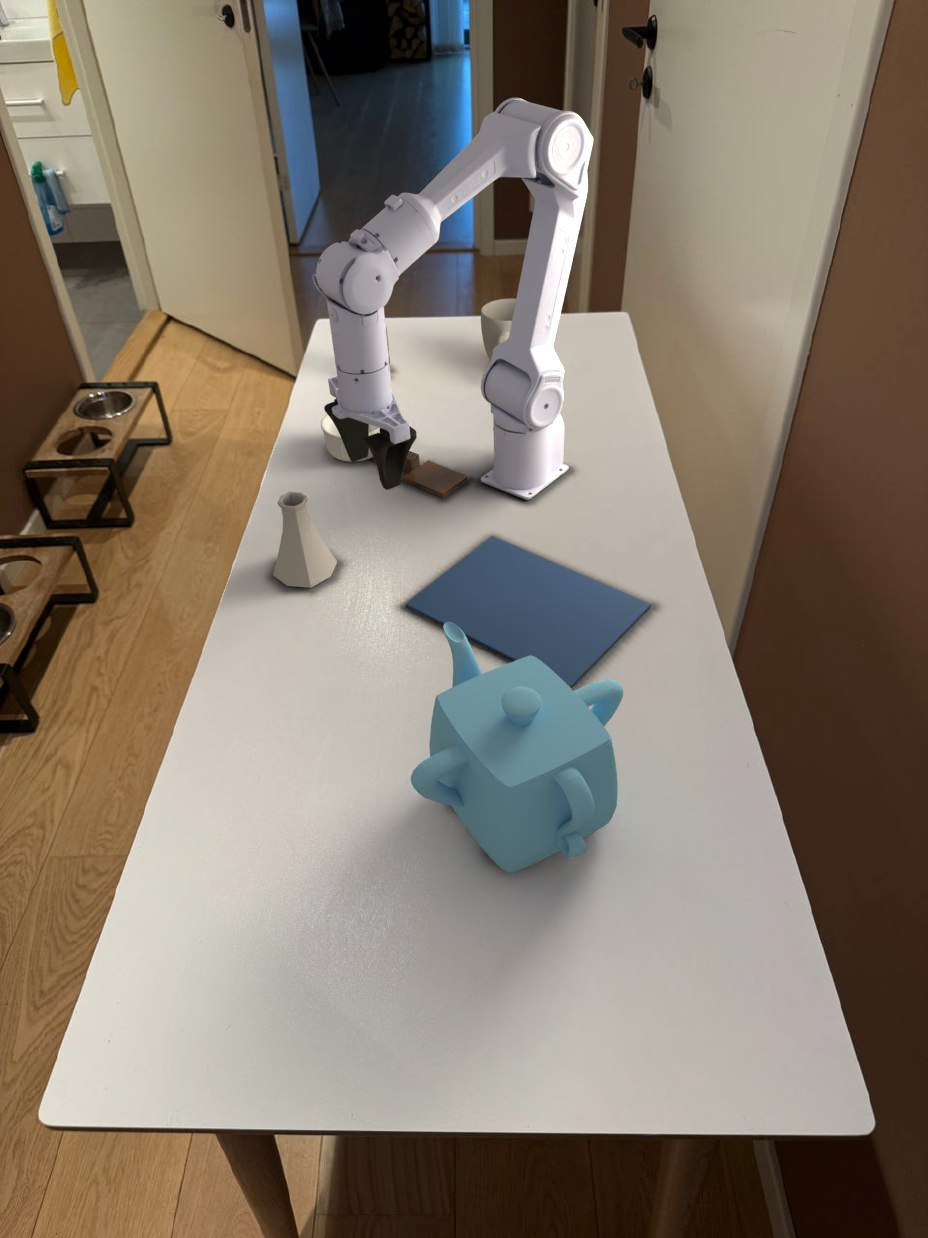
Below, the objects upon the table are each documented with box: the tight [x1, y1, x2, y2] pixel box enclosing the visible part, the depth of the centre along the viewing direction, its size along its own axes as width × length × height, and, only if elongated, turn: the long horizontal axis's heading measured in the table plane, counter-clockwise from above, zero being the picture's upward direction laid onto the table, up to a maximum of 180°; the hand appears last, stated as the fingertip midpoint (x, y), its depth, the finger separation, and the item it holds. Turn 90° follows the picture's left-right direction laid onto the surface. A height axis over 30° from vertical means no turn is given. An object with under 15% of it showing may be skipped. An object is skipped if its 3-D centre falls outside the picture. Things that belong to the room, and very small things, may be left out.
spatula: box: [369, 450, 469, 498], centre depth 125 cm, size 17×5×2 cm, turn 51°
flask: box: [272, 491, 338, 589], centre depth 106 cm, size 7×7×10 cm
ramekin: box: [320, 413, 380, 463], centre depth 128 cm, size 9×9×4 cm
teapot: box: [410, 622, 624, 874], centre depth 78 cm, size 18×16×14 cm
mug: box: [480, 298, 516, 362], centre depth 143 cm, size 12×9×10 cm
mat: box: [405, 535, 652, 689], centre depth 103 cm, size 16×22×1 cm
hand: (375, 471), depth 107 cm, fingers open, 7 cm apart
